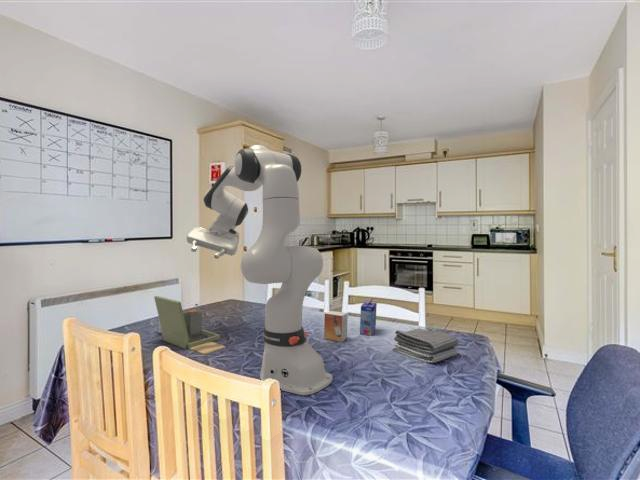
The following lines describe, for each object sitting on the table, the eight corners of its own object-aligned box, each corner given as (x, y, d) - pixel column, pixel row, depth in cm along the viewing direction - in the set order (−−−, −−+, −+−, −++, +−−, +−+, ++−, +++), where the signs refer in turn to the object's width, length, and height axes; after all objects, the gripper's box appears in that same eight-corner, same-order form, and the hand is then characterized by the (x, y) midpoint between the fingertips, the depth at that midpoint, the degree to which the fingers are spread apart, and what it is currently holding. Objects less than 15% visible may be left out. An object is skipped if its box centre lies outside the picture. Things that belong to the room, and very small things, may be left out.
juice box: (372, 336, 139) (373, 301, 139) (359, 334, 141) (359, 300, 141) (376, 329, 149) (376, 296, 148) (364, 328, 150) (364, 295, 150)
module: (202, 339, 134) (201, 310, 134) (190, 342, 130) (190, 313, 130) (194, 336, 137) (194, 308, 137) (183, 340, 133) (183, 311, 133)
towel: (434, 367, 109) (435, 343, 109) (390, 351, 123) (390, 329, 123) (459, 356, 119) (459, 334, 118) (415, 342, 133) (415, 322, 133)
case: (220, 338, 135) (220, 294, 134) (178, 351, 121) (178, 302, 120) (195, 330, 145) (195, 289, 145) (154, 341, 131) (154, 296, 130)
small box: (323, 339, 135) (323, 313, 135) (329, 335, 140) (330, 310, 140) (342, 342, 131) (342, 315, 131) (347, 338, 136) (347, 312, 136)
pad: (225, 347, 125) (225, 346, 125) (204, 354, 118) (204, 353, 118) (211, 342, 130) (211, 341, 130) (189, 349, 123) (190, 347, 123)
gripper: (195, 220, 140) (178, 240, 129) (242, 234, 140) (229, 255, 129) (195, 231, 144) (179, 252, 133) (241, 245, 144) (228, 266, 133)
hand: (204, 253), depth 131 cm, fingers open, 8 cm apart
